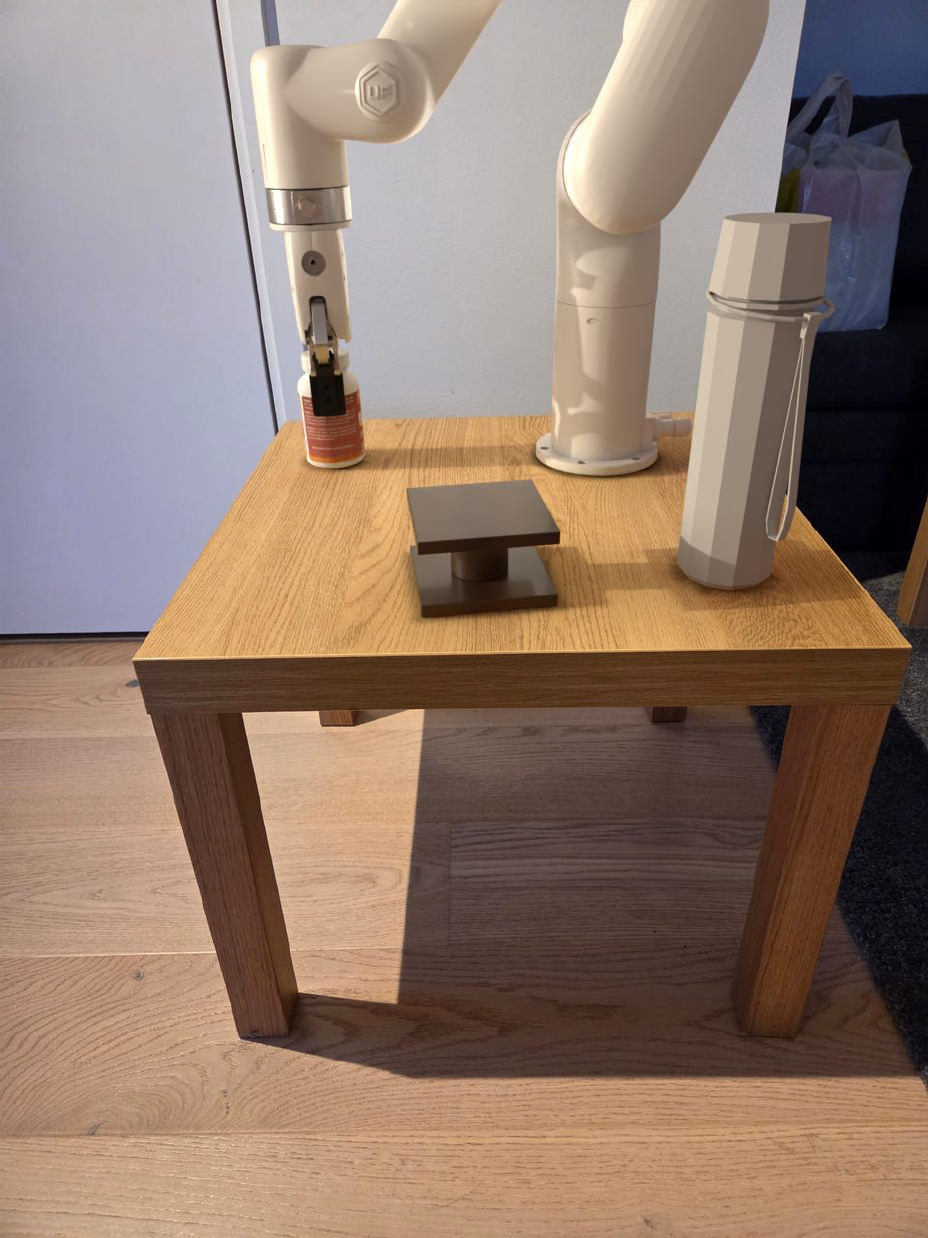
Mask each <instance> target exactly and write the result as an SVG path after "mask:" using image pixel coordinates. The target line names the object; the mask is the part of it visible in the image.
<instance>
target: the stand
mask: <svg viewBox="0 0 928 1238" xmlns="http://www.w3.org/2000/svg"><path fill="white" fill-rule="evenodd" d="M406 501H407V507H408V512H409V516H410V521H411V527H412V532H413V538H414V543H415V544H414V545H410V546H409V548H410V549H409V552H410V560H411V567H412V572H413V577H414V583H415V589H416V595H417V600H418V606H419V612H420V617H421V618H422V619H423V618H433V617H434V618H435V617H445V616H455V615H469V614H479V613H491V612H492V613H493V612H502V611H511V610H512V611H514V610H515V611H516V610H526V609H527V610H528V609H536V608H537V609H538V608H548V607H550V608H551V607H557V606H558V604H559V603H558V602H559V599H558V598H559V594H558V592H557V590H556V588H555V585H554V584H553V581H552V579H551V577H550V575H549V572H548V570H547V569H546V566H545V564H544V562H543V560H542V558H541V556H540V554H539V551H538V549H537V547H538V546H539V547H541V546H552V545H553V546H554V545H560V544H561V530H560V529H559V527H558V525H557V523H556V521H555V520H554V519H555V518H554V517H553V516H552V514H551V512H550V510H549V508H548V506H547V505H546V503H545V501H544V499H543V497H542V495H541V494H540V492H539V490H538V488H537V486H536V484H535V483H534V481H533V479H531V478H530V479H529V478H528V479H516V480H502V481H489V482H475V483H459V484H446V485H445V484H444V485H432V486H431V485H430V486H417V487H416V486H415V487H407V488H406Z"/></svg>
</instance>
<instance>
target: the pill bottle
mask: <svg viewBox="0 0 928 1238" xmlns="http://www.w3.org/2000/svg"><path fill="white" fill-rule="evenodd" d="M314 350H315V349H314ZM329 350H331V351H332V349H329ZM332 354H333V353H332ZM338 357H339V369H340V373H343V382H344V393H345V403H346V414H345V415H340V416H323V417H316V416H314V414H313V407H312V398H311V390H310V381H309V375H311V371H310V361H309V350H308V349H307V350H305V351H303V352H302V353H301V354H300V360H301V361H300V362H301V368H302V370H303V371H304V372H305V374H303V375H302V376H301V377H300V378H299V380H298V382H297V384H296V385H297V388H296V389H297V396H298V403H299V411H300V412H299V413H300V419H301V427H302V435H303V440H304V441H303V443H304V451H305V456H306V460H307V462H308V463H309V464H310V465H311V466H314V467H317V468H323V469H343V468H348V467H351V466H354V465H356V464H358V463H359V462H361V461H362V460H363V459H364V458H365V456H366V446H365V436H364V435H365V434H364V425H363V424H364V423H363V415H362V403H361V392H360V384H359V383H360V382H359V380H358V378H357V376H356V375H355V374H354V373H352V372H351V371H349V370H348V368H349V367H350V364H351V363H350V362H351V361H350V353H349V351H348V350H347V349H345V348H340V347H339V348H338ZM333 366H334V364H333Z"/></svg>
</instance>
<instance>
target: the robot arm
mask: <svg viewBox="0 0 928 1238" xmlns="http://www.w3.org/2000/svg"><path fill="white" fill-rule="evenodd" d="M504 2H505V0H397V1H396V3H395V5H394V7H393V8H392V10H391V12H390V14H389V16H388V18H386V21H385V23H384V24H383V26H382V28H381V30H380V31H379V33H378V35H377V37H375V38H369V39H364V40H360V41H355V42H349V43H345V44H339V45H332V46H325V47H324V46H321V45H316V44H315V45H314V44H277V45H267V46H264V47H261V48H259V49H257V50H256V51H255V52H254V53H253V54H252V56H251V59H250V62H249V65H250V66H249V70H250V81H251V88H252V89H251V90H252V97H253V98H252V99H253V105H254V113H255V119H256V120H255V121H256V128H257V136H258V144H259V145H258V146H259V150H260V159H261V167H262V168H261V169H262V175H263V183H264V188H265V189H264V191H265V199H266V206H267V214H268V221H269V229H270V230H273V231H275V232H276V231H277V232H283V236H284V246H285V254H286V261H287V270H288V275H289V283H290V284H289V285H290V291H291V299H292V303H293V309H294V314H295V315H294V316H295V320H296V326H297V330H298V335H299V340H300V342H301V343H302V344H303V345H305V346H307V348H308V349H307V351H308V350H309V361H310V371H311V375H309V381H310V390H311V398H312V407H313V414H314V416H316V417H323V416H340V415H345V414H346V403H345V393H344V382H343V373H340V369H339V357H338V348H340V344H339V343H340V342H339V340H344V341H345V344H349V343H350V342H351V341H352V339H353V334H352V333H353V332H352V331H353V330H352V329H353V328H352V316H351V315H352V314H351V304H350V292H349V290H350V289H349V282H348V269H347V258H346V250H345V243H344V238H343V237H344V236H343V232H342V229H347V228H350V227H354V226H353V215H352V214H353V213H352V201H351V189H350V179H349V178H350V177H349V165H348V151H347V141H352V142H359V143H367V144H375V145H381V146H382V145H383V146H384V145H385V146H386V145H388V146H389V145H396V144H399V143H402V142H404V141H406V140H408V139H410V138H412V137H414V136H415V135H417V134H418V133H419V132H420V131H422V129H423V128H424V127H425V125H426V124H427V123H428V121H429V120H430V118H431V117H432V115H433V113H434V111H435V110H436V108H437V107H438V105H439V104H440V102H441V100H442V99H443V97H444V95H445V94H446V92H447V90H448V89H449V88H450V86H451V84H452V82H453V81H454V79H455V78H456V76H457V74H458V72H460V69H461V68H462V67H463V65H464V63H465V61H466V60H467V59H468V57H469V55H470V53H471V52H472V50H473V49H474V47H475V45H476V43H477V42H478V41H479V39H480V38H481V36H482V34H483V33H484V31H485V30H486V27H487V26H488V25H489V23H490V21H491V20H492V18H493V16H494V15H495V13H496V12H497V11H498V10H499V8H500V7H501V6H502V4H503V3H504ZM769 14H770V0H630V1H629V3H628V7H627V9H626V13H625V17H624V19H623V20H624V22H623V29H622V43H621V45H620V47H619V50H618V52H617V53H616V56H615V59H614V61H613V63H612V65H611V67H610V69H609V71H608V74H607V76H606V78H605V81H604V83H603V85H602V87H601V89H600V92H599V94H598V96H597V98H596V101H595V103H594V105H593V106H592V107H590V108H588V109H587V110H586V111H585V112H583V113H582V114H581V115H580V116H578V118H577V119H576V120H575V121H574V123H573V124H572V125H571V126H570V128H569V129H568V131H567V133H566V135H565V137H564V139H563V142H562V144H561V147H560V150H559V155H558V159H557V166H556V181H555V182H556V184H555V185H556V186H555V187H556V188H555V189H556V190H555V191H556V193H555V195H556V196H555V197H556V274H555V298H554V322H553V323H554V324H553V325H554V327H553V357H552V360H553V361H552V387H551V395H552V396H551V418H550V419H551V420H550V431H549V432H547V433H545V434H543V435H541V436H540V437H539V438H538V440H536V443H535V456H536V458H537V459H538V460H539V461H540V463H542V464H544V465H545V466H547V467H549V468H551V469H553V470H554V469H555V470H557V471H561V472H564V473H569V474H574V475H582V476H593V477H594V476H596V477H602V476H603V477H604V476H618V475H626V474H631V473H636V472H639V471H643V470H644V469H646V468H649V467H651V465H653V464H654V463H655V462H656V461H657V460H658V454H659V446H658V444H657V442H659V441H661V440H662V438H667V437H669V438H670V437H671V438H682V437H683V438H684V437H690V436H691V435H692V434H691V433H692V431H693V424H692V419H691V418H690V417H673V418H672V416H671V413H657V414H652V413H651V412H650V411H649V410H648V409H647V406H648V393H649V381H650V371H651V370H650V369H651V361H652V348H653V339H654V327H655V316H656V304H657V299H658V290H659V278H660V264H661V244H662V243H661V240H662V221H663V220H664V219H666V217H667V216H669V214H670V213H671V212H672V211H673V210H674V209H675V208H676V207H677V205H679V202H680V201H681V199H682V198H683V196H684V195H685V194H686V191H687V190H688V189H689V186H690V185H691V183H692V181H693V180H694V178H695V176H696V174H697V173H698V171H699V169H700V167H701V165H702V164H703V161H704V159H705V158H706V155H707V154H708V152H709V151H710V149H711V147H712V145H713V142H714V140H715V139H716V137H717V135H718V133H719V131H720V129H721V127H722V126H723V124H724V122H725V121H726V118H727V116H728V115H729V112H730V110H731V109H732V107H733V104H734V103H735V101H736V99H737V97H738V96H739V93H740V92H741V89H742V88H743V86H744V84H745V82H746V80H747V78H748V76H749V74H750V72H751V71H752V68H753V66H754V64H755V62H756V60H757V58H758V55H759V52H760V49H761V47H762V45H763V41H764V37H765V35H766V31H767V26H768V21H769ZM314 349H315V350H314ZM329 349H332V351H331V350H329ZM332 353H333V354H332ZM333 364H334V366H333Z"/></svg>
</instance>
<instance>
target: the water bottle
mask: <svg viewBox="0 0 928 1238" xmlns="http://www.w3.org/2000/svg"><path fill="white" fill-rule="evenodd" d="M831 227H832V217H831V216H827V215H820V214H815V213H801V212H800V213H799V212H748V213H735V214H729V215H725V216H724V217H723V221H722V226H721V230H720V233H719V234H720V235H719V239H718V244H717V249H716V253H715V258H714V262H713V267H712V273H711V277H710V281H709V287H708V288H707V289H706V292H705V293H706V299H707V300H708V301H709V302H710V303H711V304H712V305H710V306H709V308H708V310H707V312H706V313H707V314H706V320H705V321H706V322H705V329H704V330H705V331H704V337H703V338H704V339H703V347H702V354H701V355H702V356H701V361H700V363H701V364H700V371H699V380H698V388H697V395H696V404H695V411H694V420H693V421H694V422H693V426H692V434H691V435H692V437H691V444H690V451H689V452H690V453H689V461H688V469H687V477H686V485H685V493H684V494H685V495H684V501H683V510H682V518H681V527H680V534H679V541H678V542H679V543H678V550H677V557H676V564H677V566H678V567H679V568H680V570H681V571H682V572H683V573H684V574H685V576H686V577H687V578H688V580H690V581H693V582H695V583H697V584H699V585H702V586H704V587H707V588H712V589H718V590H726V591H735V590H744V589H752V588H754V587H756V586H757V585H759V584H761V583H762V582H764V581H766V580H767V579H768V578H770V577H771V575H772V568H773V563H774V557H775V552H776V547H777V542H783V541H785V540H786V539H787V537H788V534H789V532H790V531H791V527H792V523H793V519H794V516H795V512H796V507H797V500H798V499H797V498H798V489H799V479H800V469H801V468H800V467H801V458H802V449H803V437H804V428H805V419H806V407H807V400H808V399H807V398H808V389H809V379H810V368H811V362H812V356H813V351H814V346H815V340H816V336H817V333H818V329H819V327H820V324H821V322H822V320H825V319H829V318H830V317H831V316H832V315H833V314H834V313H835V311H836V308H835V305H834V303H833V301H831V300H830V299H828V298H827V297H825V291H826V283H827V282H826V280H827V270H828V262H829V261H828V260H829V249H830V238H831ZM821 305H825V306H826V307H827V309H828V310H827V311H825V312H824V313H822V312H820V311H819V310H817V309H815V308H814V307H817V306H821ZM786 494H787V496H786ZM785 499H786V505H785V511H784V516H783V518H782V515H783V509H784V503H785ZM781 520H782V522H781ZM780 526H781V527H780Z"/></svg>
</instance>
